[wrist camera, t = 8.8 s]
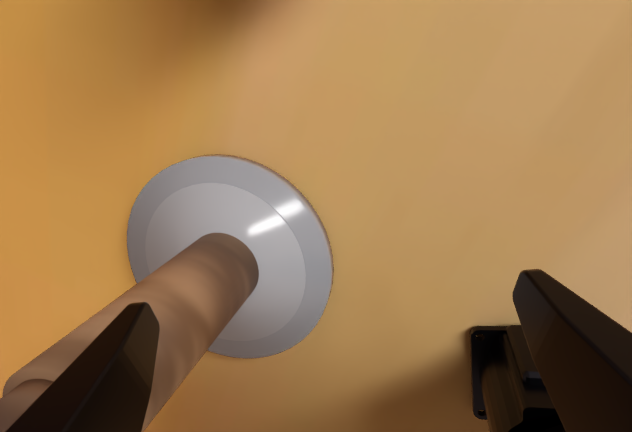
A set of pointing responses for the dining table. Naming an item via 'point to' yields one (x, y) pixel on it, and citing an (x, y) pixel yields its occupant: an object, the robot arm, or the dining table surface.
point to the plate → (254, 231)
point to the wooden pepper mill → (173, 316)
